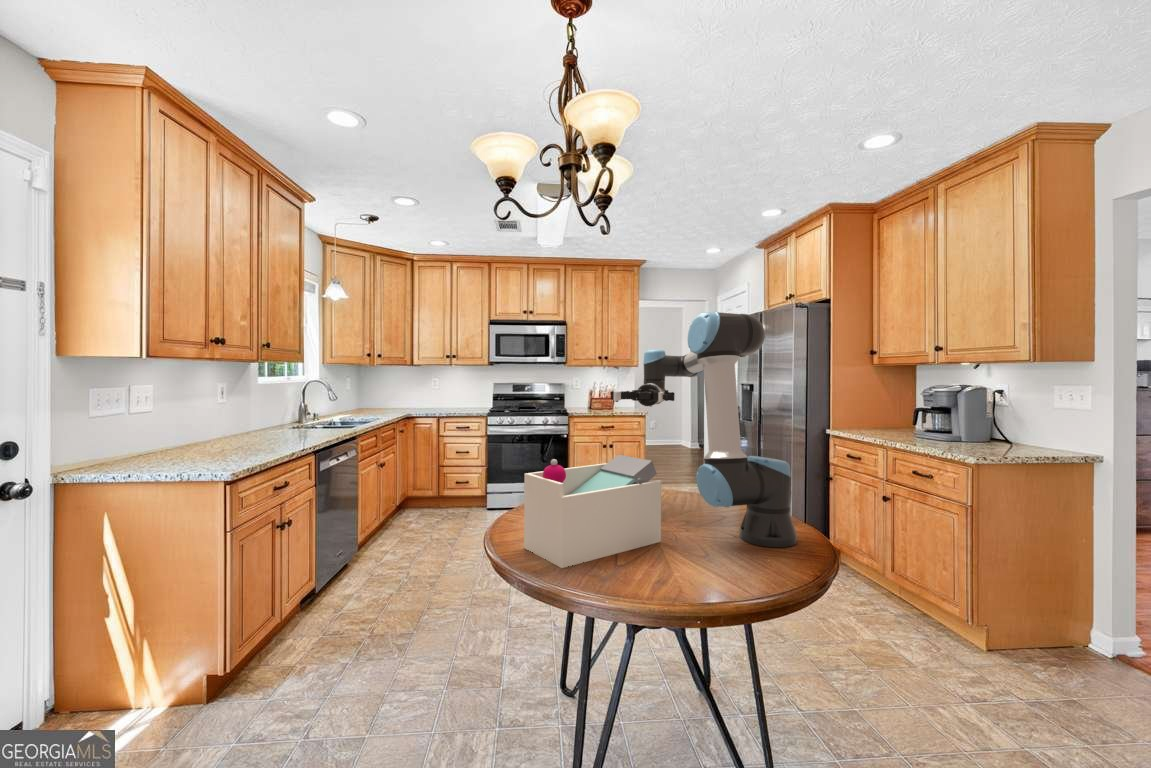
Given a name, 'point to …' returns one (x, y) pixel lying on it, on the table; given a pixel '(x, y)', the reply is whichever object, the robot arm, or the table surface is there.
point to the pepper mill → (554, 472)
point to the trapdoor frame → (588, 517)
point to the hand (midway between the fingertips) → (636, 396)
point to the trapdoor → (619, 474)
